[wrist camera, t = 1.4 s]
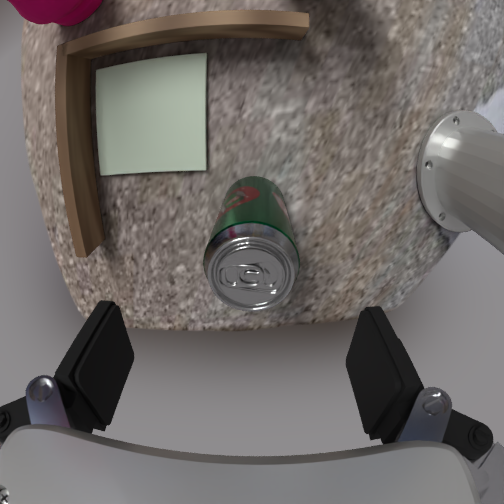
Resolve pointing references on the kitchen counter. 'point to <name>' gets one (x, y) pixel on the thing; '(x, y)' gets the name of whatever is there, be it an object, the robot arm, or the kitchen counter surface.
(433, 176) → the robot arm
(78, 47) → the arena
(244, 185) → the soda can
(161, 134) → the pad
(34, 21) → the pepper mill
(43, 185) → the kitchen counter surface
